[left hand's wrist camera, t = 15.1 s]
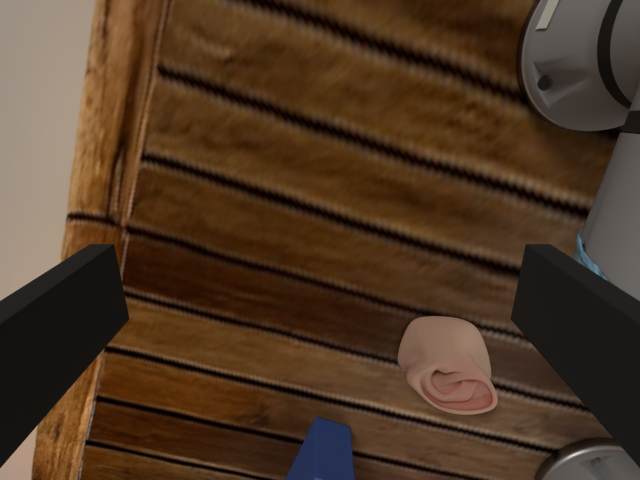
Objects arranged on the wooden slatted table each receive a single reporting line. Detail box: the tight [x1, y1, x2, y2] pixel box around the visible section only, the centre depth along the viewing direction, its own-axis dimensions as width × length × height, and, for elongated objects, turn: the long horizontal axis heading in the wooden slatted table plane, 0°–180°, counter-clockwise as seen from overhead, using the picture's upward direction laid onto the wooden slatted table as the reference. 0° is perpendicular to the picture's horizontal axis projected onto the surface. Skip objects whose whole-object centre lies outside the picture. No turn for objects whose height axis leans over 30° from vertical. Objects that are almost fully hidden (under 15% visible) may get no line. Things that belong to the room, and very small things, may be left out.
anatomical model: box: [398, 316, 498, 415], centre depth 46 cm, size 13×4×12 cm
